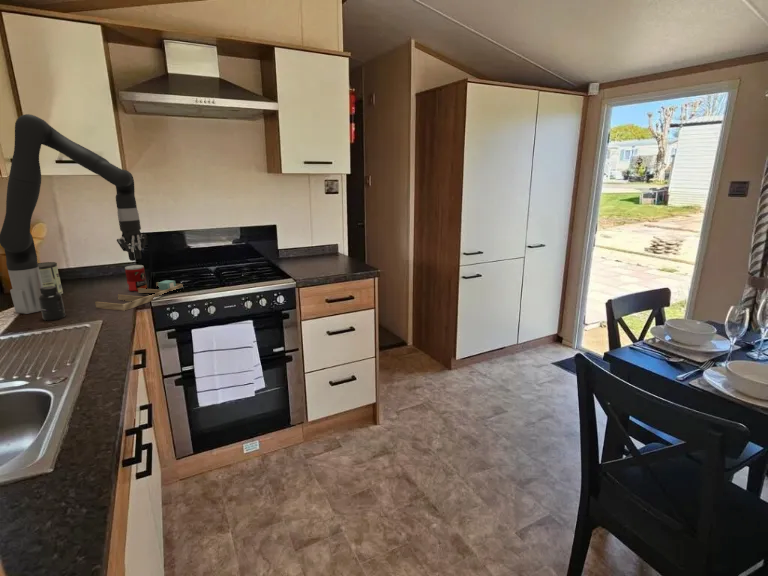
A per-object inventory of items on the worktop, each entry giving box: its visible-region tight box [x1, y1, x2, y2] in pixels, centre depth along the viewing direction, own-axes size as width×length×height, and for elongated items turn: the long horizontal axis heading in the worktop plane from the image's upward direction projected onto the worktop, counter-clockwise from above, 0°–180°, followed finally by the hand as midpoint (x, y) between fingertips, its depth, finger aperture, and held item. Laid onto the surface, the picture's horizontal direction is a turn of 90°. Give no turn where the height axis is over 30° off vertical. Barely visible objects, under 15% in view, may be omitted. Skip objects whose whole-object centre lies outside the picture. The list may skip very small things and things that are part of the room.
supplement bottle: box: [39, 286, 66, 322], centre depth 157 cm, size 7×7×12 cm
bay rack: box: [94, 281, 184, 312], centre depth 183 cm, size 32×15×2 cm, turn 164°
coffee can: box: [38, 261, 64, 295], centre depth 187 cm, size 10×10×14 cm
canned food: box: [124, 264, 148, 292], centre depth 195 cm, size 8×8×11 cm
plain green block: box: [158, 279, 177, 290], centre depth 191 cm, size 5×5×5 cm
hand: (135, 259), depth 179 cm, fingers open, 2 cm apart
